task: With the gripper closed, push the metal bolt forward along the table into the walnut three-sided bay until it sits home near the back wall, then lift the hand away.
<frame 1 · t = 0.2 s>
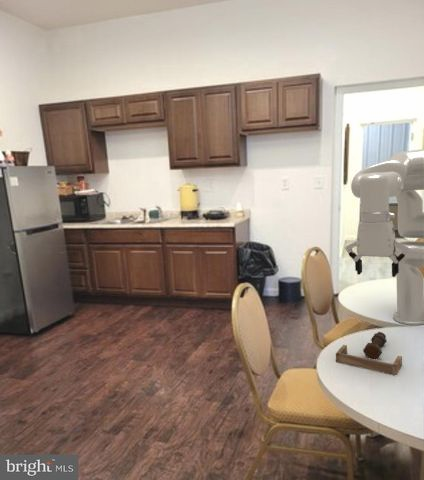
hand: (376, 274, 112), 31 cm above the table, tool pointing down, fingers open, 9 cm apart
bay: (368, 363, 121), on the table
bolt: (377, 350, 130), on the table
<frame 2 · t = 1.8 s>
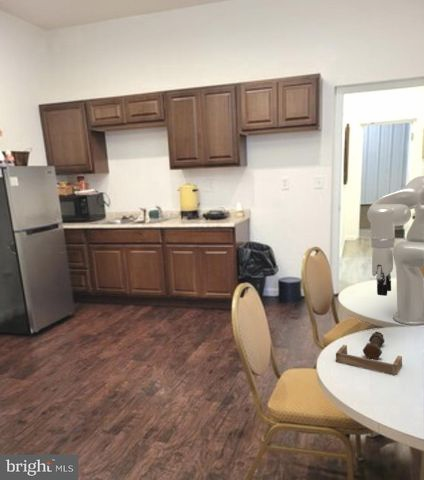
hand: (384, 292, 134), 17 cm above the table, tool pointing down, fingers open, 4 cm apart
nothing on the table moved.
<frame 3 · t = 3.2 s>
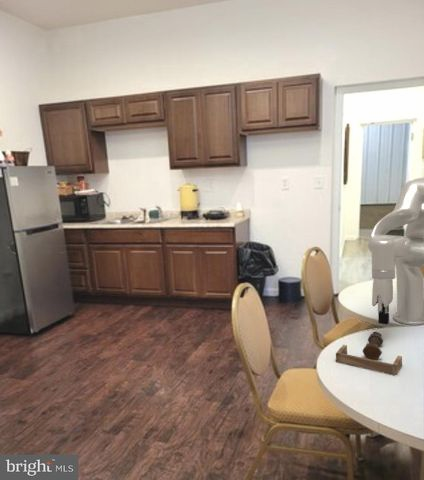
hand: (383, 323, 135), 6 cm above the table, tool pointing down, fingers closed
nothing on the table moved.
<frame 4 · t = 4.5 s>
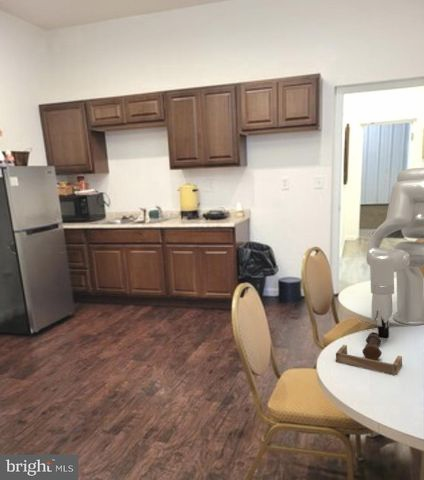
hand: (383, 337, 135), 1 cm above the table, tool pointing down, fingers closed
bolt: (373, 351, 129), on the table, touching gripper
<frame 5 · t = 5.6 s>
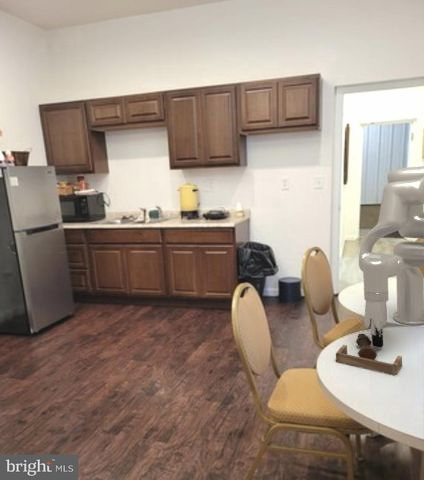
hand: (377, 345, 129), 1 cm above the table, tool pointing down, fingers closed
bolt: (365, 352, 129), on the table
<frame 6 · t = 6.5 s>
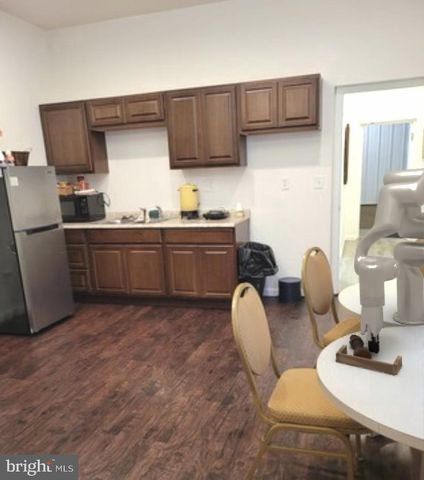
hand: (373, 351, 126), 1 cm above the table, tool pointing down, fingers closed
bolt: (359, 353, 129), on the table, touching gripper
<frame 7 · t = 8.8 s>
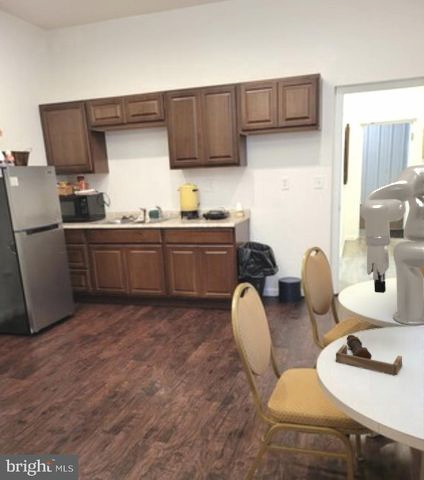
hand: (380, 291, 130), 19 cm above the table, tool pointing down, fingers closed
bolt: (357, 353, 129), on the table
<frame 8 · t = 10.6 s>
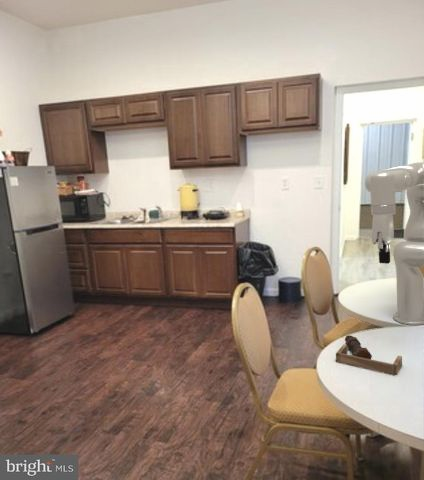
hand: (384, 262, 129), 29 cm above the table, tool pointing down, fingers closed
nothing on the table moved.
at the end: bolt inside the target area (6.3 cm from its centre), on the table; bolt moved 8.0 cm from its start; the gripper is holding nothing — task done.
